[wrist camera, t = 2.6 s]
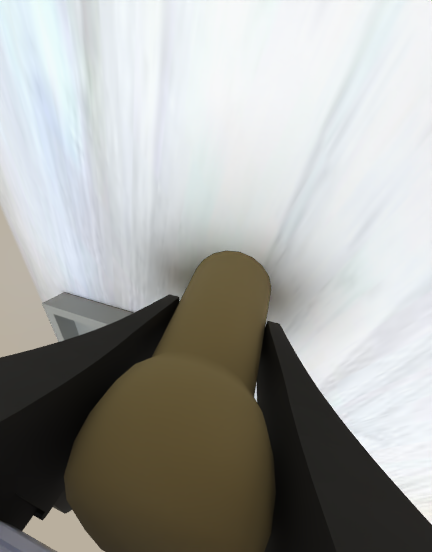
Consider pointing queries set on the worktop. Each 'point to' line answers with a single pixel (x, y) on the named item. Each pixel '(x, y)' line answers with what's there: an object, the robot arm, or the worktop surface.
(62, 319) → the grey tray
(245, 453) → the cork
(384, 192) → the worktop surface
